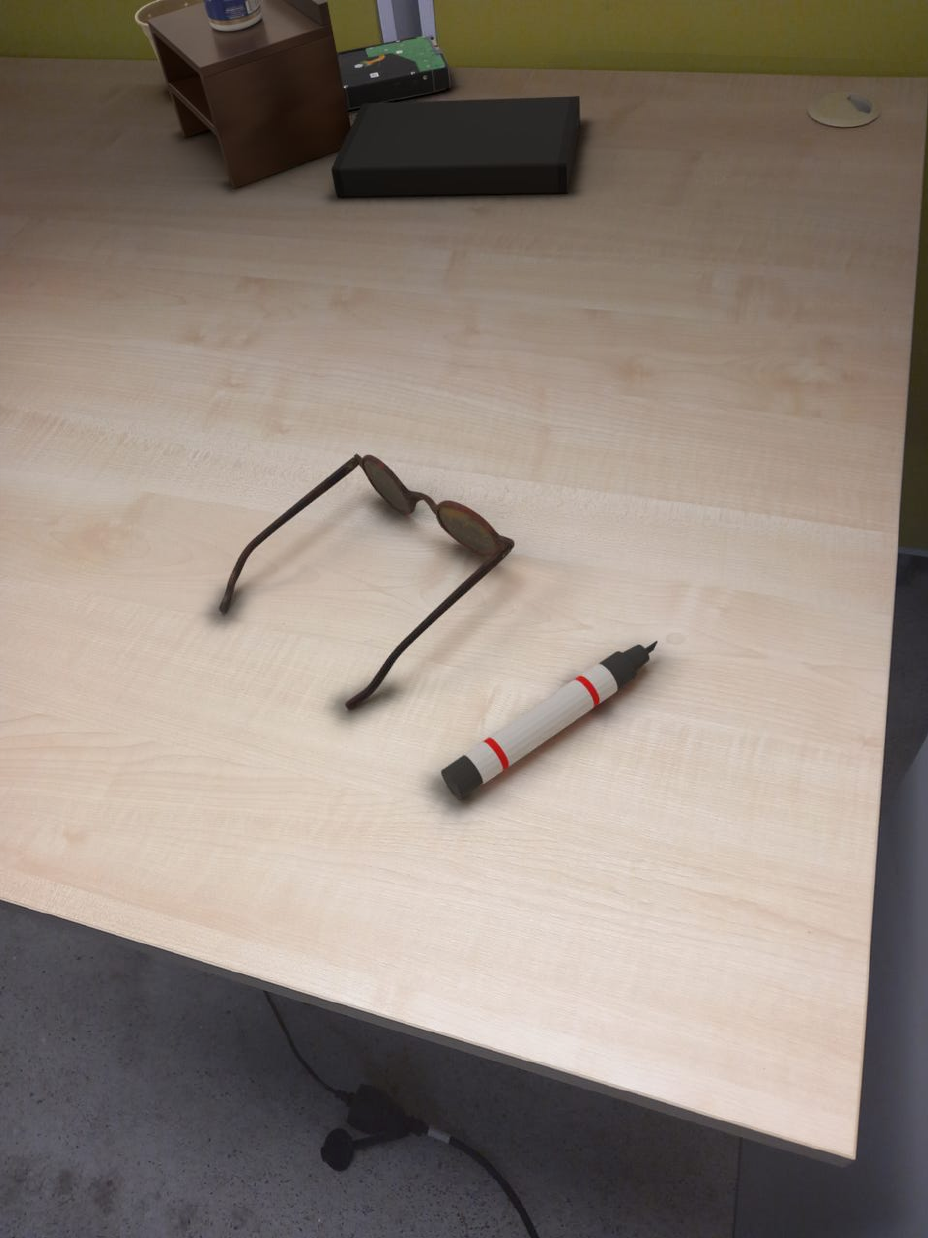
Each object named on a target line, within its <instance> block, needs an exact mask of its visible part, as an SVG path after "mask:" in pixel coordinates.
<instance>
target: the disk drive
mask: <svg viewBox="0 0 928 1238" xmlns="http://www.w3.org/2000/svg"><path fill="white" fill-rule="evenodd" d="M337 56H338V61H339V66H340V72H341V77H342V82H343V88H344V93H345V98H346V104H347V109H348V111H350V110H354V109H360V107H361V105H362V104H366V103H389V102H390V101H393V102H394V101H395V100H405V99H410V98H413V97H419V96H424V95H429V94H432V93H437V92H440V91H445V90H446V89H451V88H452V81H451V72H450V71H451V70H450V66H449V63H448V61H447V59H446V57H445V56H444V53H443V50H442V49H441V48H440V47H439V45H438V44H437V42H436V40H435V36H434V35H433V34H431V35H421V36H418V37H417V36H411V37H406V38H402V39H399V40H392V41H387V42H382V43H377V44H372V45H366V46H361V47H357V48H353V49H346V50H342V51H337Z"/></svg>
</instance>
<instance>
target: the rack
mask: <svg viewBox="0 0 928 1238" xmlns="http://www.w3.org/2000/svg"><path fill="white" fill-rule="evenodd" d="M259 3H260V7H261V13H262V16H261V19H260V20H259V21H258V22H257V23H256V24H254V25H252V26H250V27H247V28H244V29H241V30H237V31H219V30H216V29H214V28H213V27H212V26H211V25H210V23H209V20H208V16H207V13H206V9H205V5H204V2H202V3H199V4H196V5H193V6H190V7H186V8H183V9H180V10H177V11H174V12H170V13H167V14H164V15H161V16H158V17H155V18H151V19H148V20H147V22H148V25H149V28H150V32H151V35H152V38H153V41H154V45H155V48H156V51H157V54H158V57H159V60H160V63H159V65H160V64H161V65H160V67H161V69H162V73H163V76H164V79H165V83H166V85H167V89H168V93H169V95H170V99H171V102H172V105H173V108H174V111H175V114H176V118H177V121H178V124H179V128H180V130H181V134H182V136H184V138H189V137H192V136H195V135H197V134H200V133H204V132H206V131H211V133H213V134H214V135H215V136H216V137H217V139H218V140H217V141H218V143H219V147H220V151H221V154H222V157H223V161H224V164H225V168H226V171H227V175H228V179H229V182H230V184H231V186H232V188H233V189H237V188H240V187H243V186H246V185H248V184H251V183H254V182H256V181H259V180H262V179H265V178H267V177H271V176H272V175H275V174H278V173H281V172H283V171H286V170H289V169H292V168H295V167H297V166H300V165H302V164H306V163H308V162H311V161H313V160H317V159H318V158H322V157H325V156H327V155H330V154H333V153H335V152H339V151H340V149H341V147H342V145H343V143H344V141H345V139H346V137H347V134H348V132H349V130H350V128H351V126H352V124H351V120H350V115H349V110H348V109H347V104H346V98H345V93H344V88H343V82H342V77H341V72H340V66H339V61H338V56H337V52H338V50H337V45H336V40H335V35H334V30H333V25H332V20H331V14H330V9H329V8H330V7H329V3H328V1H327V0H259Z"/></svg>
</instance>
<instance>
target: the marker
mask: <svg viewBox="0 0 928 1238" xmlns="http://www.w3.org/2000/svg"><path fill="white" fill-rule="evenodd" d="M658 642H659V641H658V640H655V641H654V642H652V643H651V644H650V645H648V646H647V647H644V646H643V645H642V644H636V645H634V646H632V647H630V648H628V649H627V650H624V651H623V652H622V651H620V650H618V651H615V652H613V653H612V654H610V655H609V656H607V657H606V658H604V659H602V661H600V662H598V663H596V664H594V665H593V666H591V667H589V668H588V669H587V670H585V671H584V672H582V673H581V674H579V675H577V677H575V678H574V679H572V680H570V681H569V682H568V683H566V684H565V685H563V686H562V687H561V688H559V689H558V690H556V691H555V692H553V693H552V694H550V695H549V696H547V697H546V698H544V699H543V700H542V701H539V703H537V704H535V705H534V706H533V707H531V708H530V709H528V710H526V712H523V713H522V714H521V715H519V716H518V717H516V718H515V719H514V720H512V721H510V722H509V723H507V724H506V725H505V726H503V727H502V728H500V729H499V730H497V731H496V732H494V733H493V734H491V735H490V736H488V737H486V739H484V740H483V741H481V742H480V743H478V744H477V745H475V746H474V747H472V748H470V749H469V750H468V751H466V752H464V754H462V755H461V756H460V757H459V758H458V759H456V760H454V761H453V762H451V763H450V764H448V765H447V766H446V767H444V768H442V769H441V770H440V773H441V776H442V780H443V781H444V783H445V785H446V786H447V788H448V789H449V790H450V792H451V793H452V794H453V795H454V796H455V798H457V799H458V800H462V799H464V798H465V797H466V796H468V795H470V794H471V793H472V792H474V791H475V790H476V789H478V788H480V787H481V786H483V785H485V784H487V783H488V782H489V781H490V780H492V779H493V778H495V777H496V776H498V775H499V774H500V773H502V772H504V771H505V770H507V769H508V768H509V767H511V766H512V765H514V764H515V763H517V762H518V761H519V760H521V759H522V758H524V757H525V756H526V755H528V754H529V753H531V752H532V751H534V750H535V749H536V748H538V747H539V746H541V745H543V744H544V743H545V742H546V741H548V740H549V739H551V738H552V737H553V736H555V735H557V734H558V733H559V732H561V731H562V730H564V729H566V728H567V727H568V726H570V725H571V724H573V723H574V722H575V721H577V720H578V719H579V718H581V717H583V716H584V715H585V714H587V713H588V712H590V711H591V710H592V709H594V708H595V707H597V706H599V705H600V704H602V703H603V702H604V701H605V700H607V699H608V698H610V697H611V696H613V695H614V694H615V693H617V692H618V691H619V690H620V689H621V688H623V687H624V686H626V685H627V684H629V683H630V682H631V681H633V680H634V679H636V677H637V672H638V671H639V670H640V669H641V668H642V667H644V665H646V664H647V663H648V662H649V661H650V660H651V659H650V654H651V653H652V652H653V651H654V650H655V648H656V646H657V644H658Z"/></svg>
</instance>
